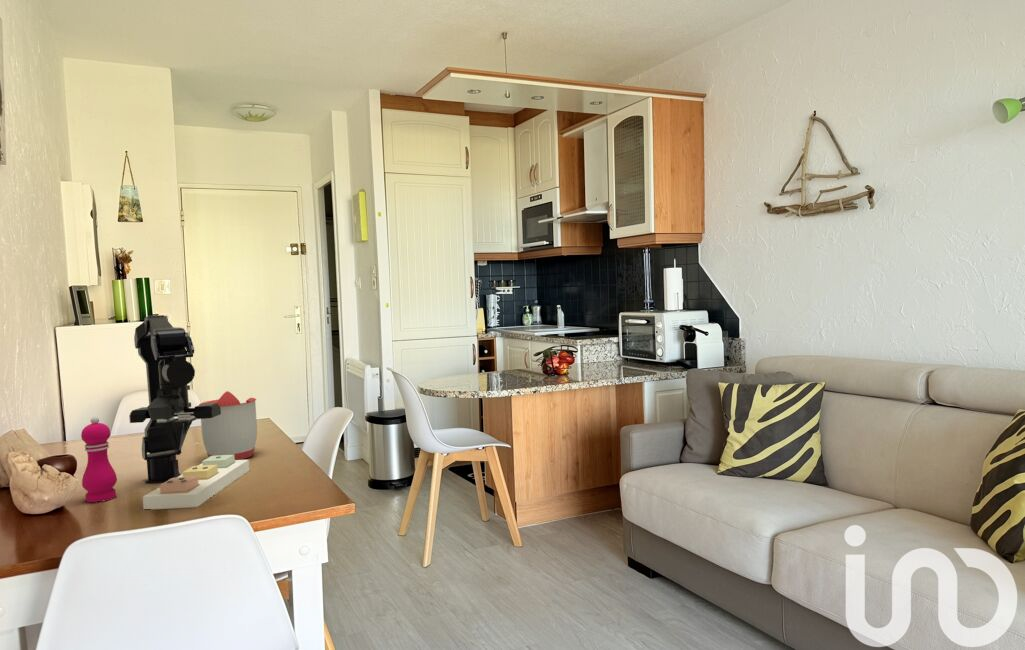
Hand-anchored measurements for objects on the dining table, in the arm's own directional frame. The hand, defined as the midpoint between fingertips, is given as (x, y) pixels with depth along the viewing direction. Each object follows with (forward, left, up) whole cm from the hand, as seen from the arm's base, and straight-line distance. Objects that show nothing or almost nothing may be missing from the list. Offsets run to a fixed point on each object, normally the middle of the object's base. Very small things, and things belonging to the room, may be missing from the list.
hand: (178, 449), depth 160 cm
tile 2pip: (0, +11, -10) cm, 14 cm away
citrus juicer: (-5, +44, -12) cm, 46 cm away
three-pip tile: (0, 0, -9) cm, 10 cm away
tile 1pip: (0, +22, -9) cm, 24 cm away
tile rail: (0, +11, -12) cm, 16 cm away
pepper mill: (-22, +6, -12) cm, 26 cm away
